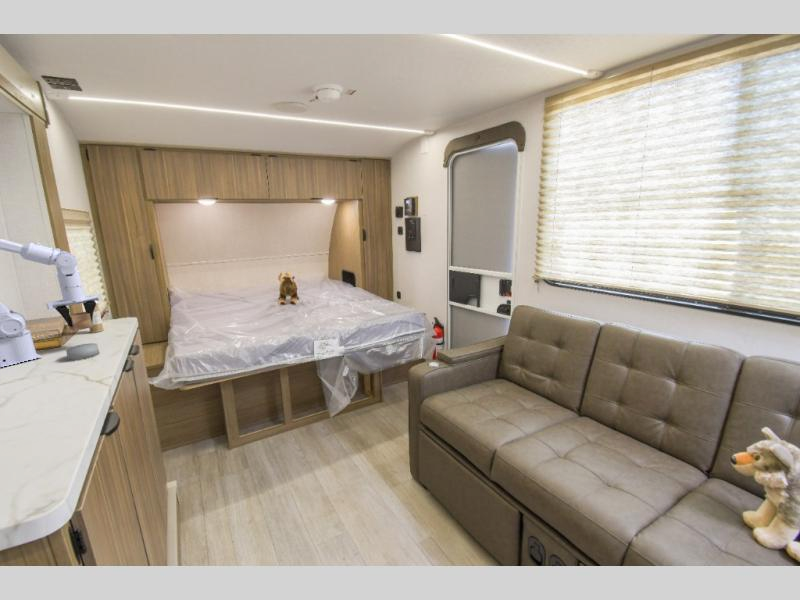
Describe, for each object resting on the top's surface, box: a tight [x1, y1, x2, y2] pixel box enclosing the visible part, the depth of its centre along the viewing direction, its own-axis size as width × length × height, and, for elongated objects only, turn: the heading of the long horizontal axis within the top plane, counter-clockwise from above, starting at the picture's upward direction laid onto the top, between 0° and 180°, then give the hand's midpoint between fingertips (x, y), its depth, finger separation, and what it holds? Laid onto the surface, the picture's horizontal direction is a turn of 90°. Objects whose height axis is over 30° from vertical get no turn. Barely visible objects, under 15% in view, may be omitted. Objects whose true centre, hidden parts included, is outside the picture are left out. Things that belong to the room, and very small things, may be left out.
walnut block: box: [69, 311, 93, 332], centre depth 129 cm, size 5×5×5 cm
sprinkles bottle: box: [88, 301, 104, 334], centre depth 147 cm, size 5×5×14 cm
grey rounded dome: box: [65, 342, 100, 361], centre depth 122 cm, size 8×8×3 cm
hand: (80, 324), depth 129 cm, fingers closed on walnut block, 5 cm apart
